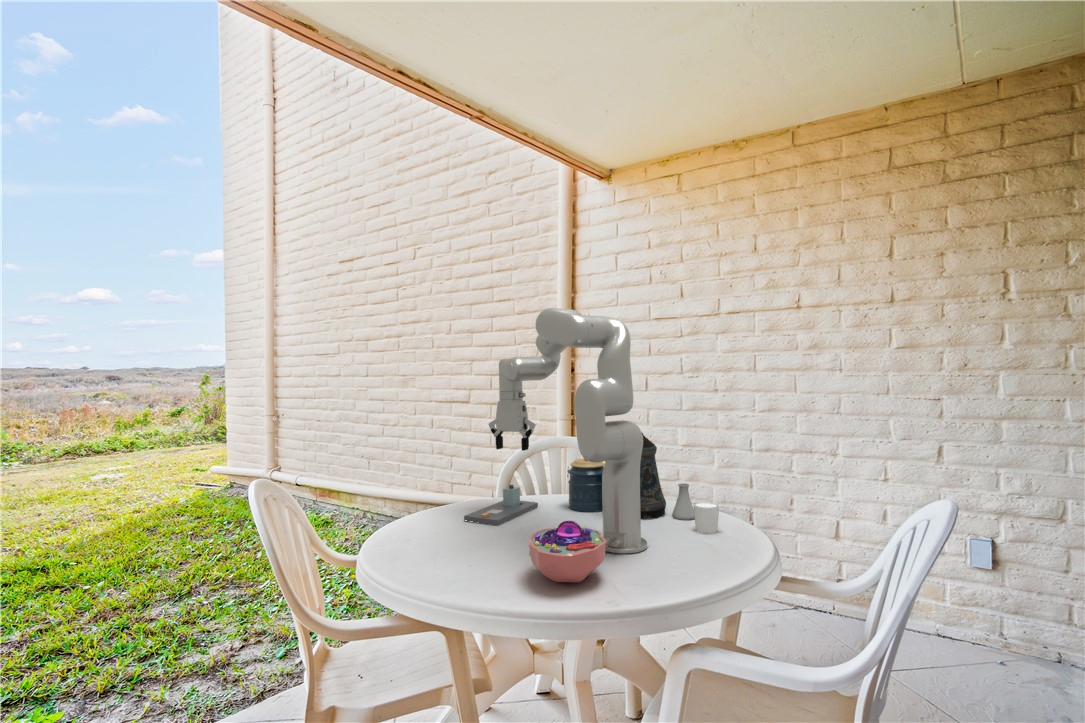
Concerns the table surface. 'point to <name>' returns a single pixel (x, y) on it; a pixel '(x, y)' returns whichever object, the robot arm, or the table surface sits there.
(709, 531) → the grey cylinder
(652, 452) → the beer stein
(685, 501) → the flask
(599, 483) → the canister
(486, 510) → the outlet plate
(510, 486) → the block
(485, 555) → the table surface
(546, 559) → the cell model
